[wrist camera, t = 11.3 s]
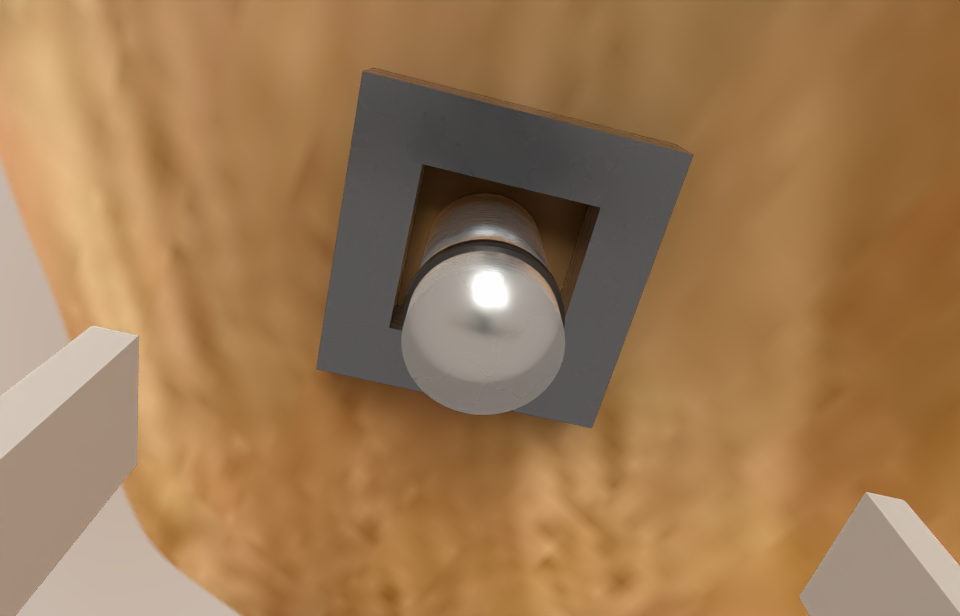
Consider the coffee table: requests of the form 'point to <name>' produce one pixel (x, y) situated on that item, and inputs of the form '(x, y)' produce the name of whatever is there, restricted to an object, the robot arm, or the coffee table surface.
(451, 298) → the piston
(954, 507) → the coffee table surface
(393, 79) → the bore plate
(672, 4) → the coffee table surface
